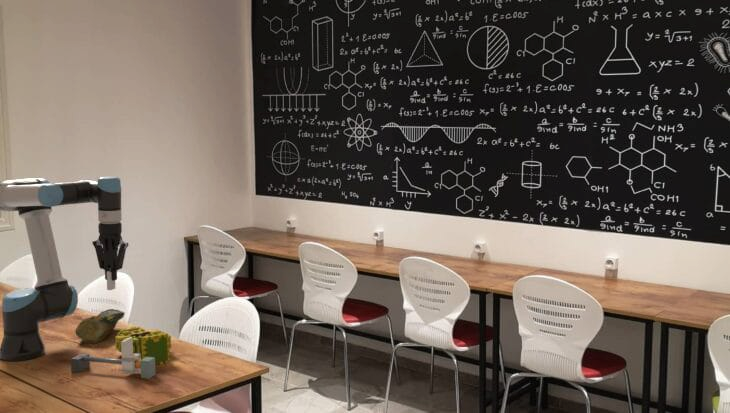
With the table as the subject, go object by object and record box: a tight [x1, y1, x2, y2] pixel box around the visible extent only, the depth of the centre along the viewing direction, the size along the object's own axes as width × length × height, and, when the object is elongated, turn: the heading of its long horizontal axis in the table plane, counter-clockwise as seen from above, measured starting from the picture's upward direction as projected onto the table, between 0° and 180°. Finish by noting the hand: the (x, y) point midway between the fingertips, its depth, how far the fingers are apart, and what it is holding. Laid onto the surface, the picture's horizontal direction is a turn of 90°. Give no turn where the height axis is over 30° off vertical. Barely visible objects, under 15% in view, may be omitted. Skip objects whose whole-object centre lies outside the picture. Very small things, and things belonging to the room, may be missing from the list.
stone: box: [75, 308, 125, 344], centre depth 294 cm, size 15×12×25 cm
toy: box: [114, 326, 172, 365], centre depth 272 cm, size 17×10×30 cm
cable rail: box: [70, 352, 156, 380], centre depth 251 cm, size 29×6×6 cm, turn 75°
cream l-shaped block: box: [121, 337, 141, 375], centre depth 249 cm, size 4×5×11 cm
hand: (111, 289), depth 257 cm, fingers closed
